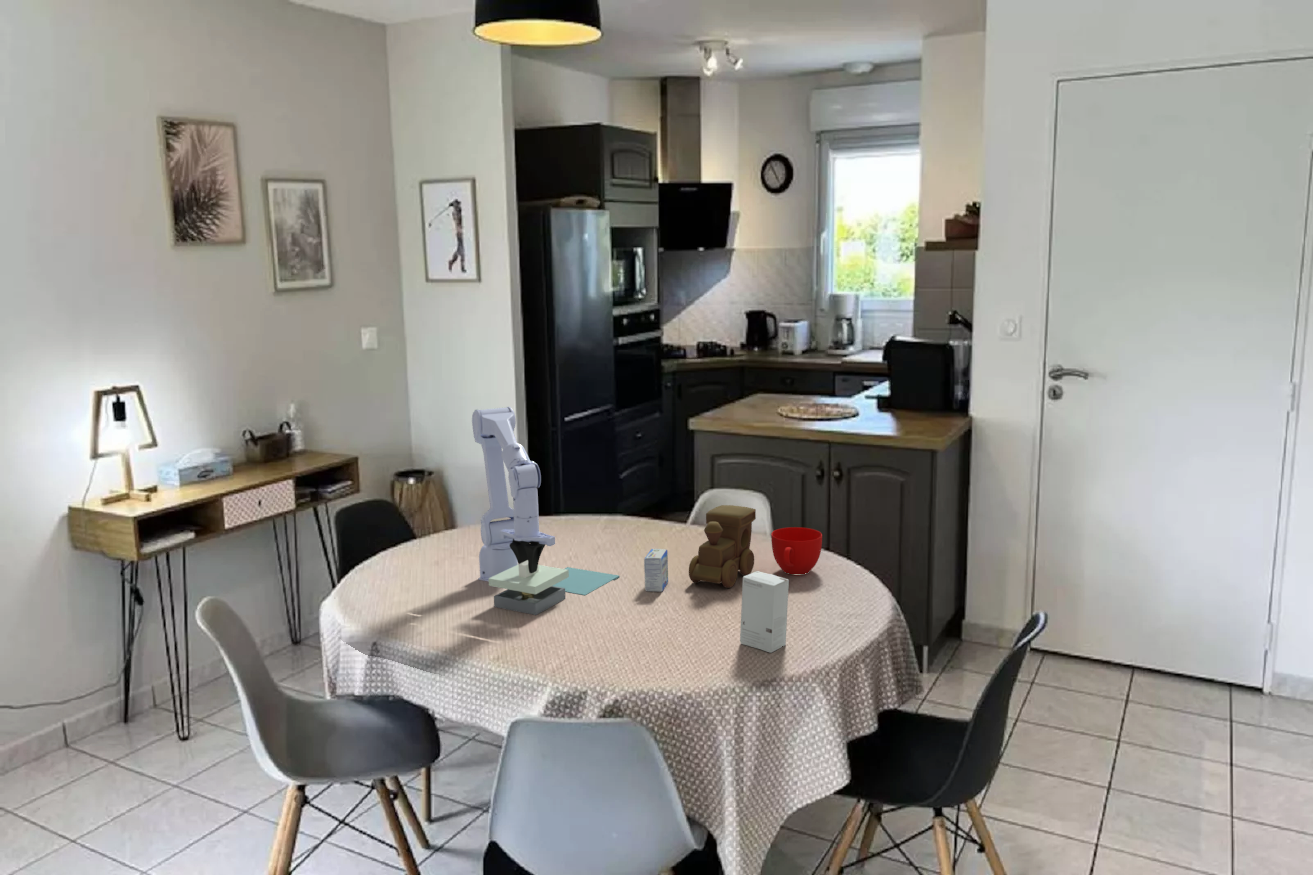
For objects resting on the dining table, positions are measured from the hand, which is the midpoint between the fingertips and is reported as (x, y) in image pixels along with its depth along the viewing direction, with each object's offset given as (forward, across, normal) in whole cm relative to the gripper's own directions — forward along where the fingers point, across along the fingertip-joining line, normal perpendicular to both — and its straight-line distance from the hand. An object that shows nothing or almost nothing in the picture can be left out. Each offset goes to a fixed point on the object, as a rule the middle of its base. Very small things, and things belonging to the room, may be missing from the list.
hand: (528, 571), depth 229 cm
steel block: (+8, +3, -2) cm, 8 cm away
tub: (+8, 0, 0) cm, 8 cm away
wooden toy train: (+8, +33, +37) cm, 50 cm away
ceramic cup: (+8, +48, +48) cm, 68 cm away
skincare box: (+8, +59, +2) cm, 60 cm away
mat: (+8, +1, +18) cm, 20 cm away
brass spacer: (+8, -2, +2) cm, 9 cm away
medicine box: (+8, +21, +24) cm, 33 cm away
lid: (+3, 0, 0) cm, 3 cm away
